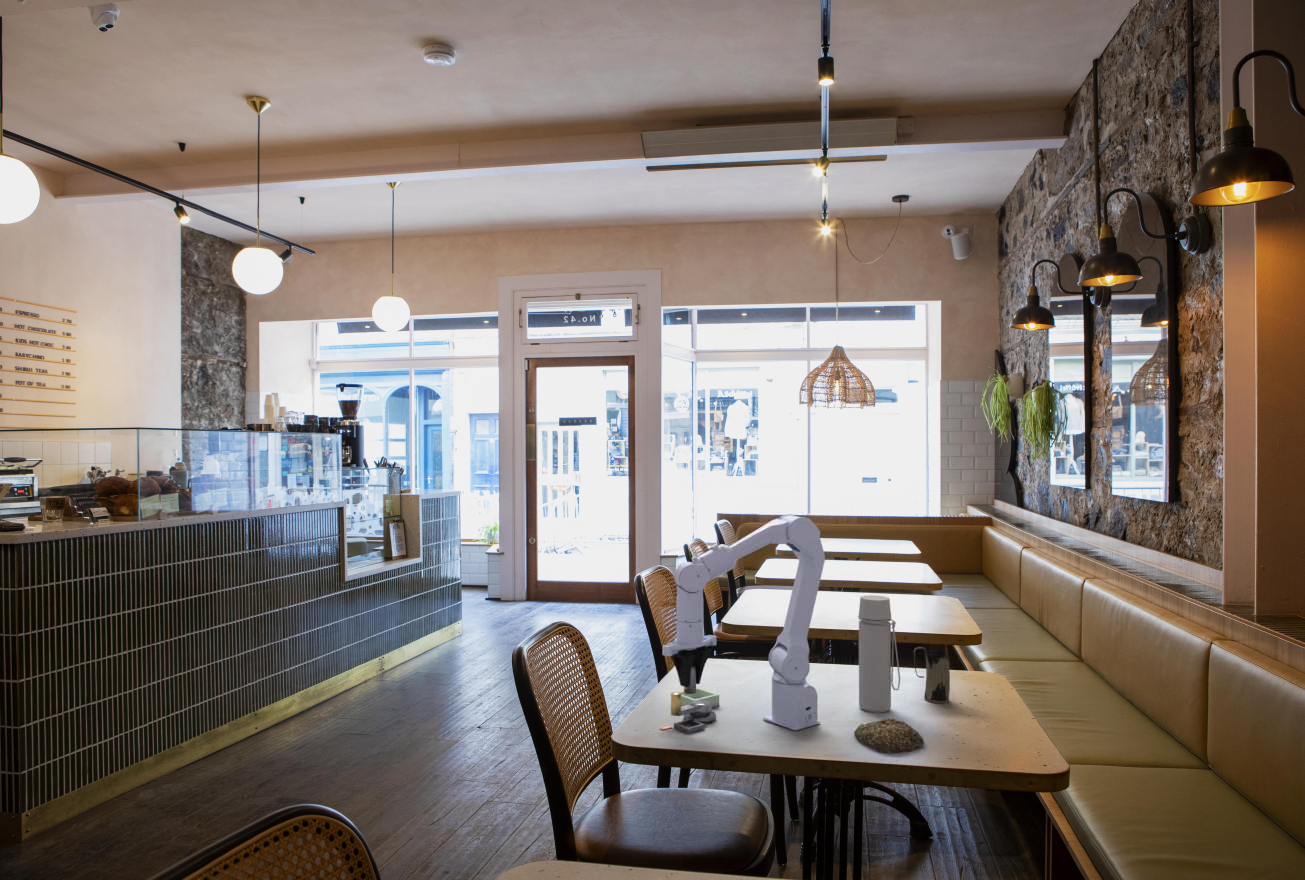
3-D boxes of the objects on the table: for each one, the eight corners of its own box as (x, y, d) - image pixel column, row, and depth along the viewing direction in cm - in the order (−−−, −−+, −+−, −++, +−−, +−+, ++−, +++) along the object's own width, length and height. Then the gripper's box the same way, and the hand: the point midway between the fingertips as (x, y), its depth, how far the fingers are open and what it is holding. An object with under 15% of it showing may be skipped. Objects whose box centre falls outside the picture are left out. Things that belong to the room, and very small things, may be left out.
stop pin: (698, 692, 178) (698, 666, 178) (689, 694, 176) (689, 668, 176) (690, 689, 180) (690, 663, 180) (681, 691, 178) (681, 665, 178)
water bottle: (854, 711, 188) (854, 599, 189) (862, 701, 195) (862, 593, 196) (896, 717, 184) (895, 602, 184) (903, 707, 191) (903, 596, 191)
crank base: (730, 722, 181) (730, 717, 181) (678, 736, 172) (678, 731, 172) (701, 711, 188) (701, 707, 188) (650, 724, 179) (650, 720, 179)
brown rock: (877, 757, 161) (877, 731, 161) (846, 735, 173) (846, 711, 173) (936, 751, 164) (936, 725, 165) (901, 730, 176) (901, 706, 176)
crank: (700, 707, 187) (700, 682, 187) (716, 712, 183) (716, 687, 183) (664, 717, 180) (664, 691, 180) (680, 723, 176) (680, 696, 176)
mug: (948, 697, 199) (948, 646, 199) (951, 704, 194) (951, 651, 194) (913, 695, 201) (913, 644, 201) (915, 701, 196) (914, 649, 196)
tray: (719, 705, 192) (719, 694, 193) (694, 711, 188) (694, 700, 188) (697, 698, 198) (697, 687, 198) (673, 703, 194) (673, 693, 194)
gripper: (699, 612, 186) (699, 674, 186) (652, 621, 176) (652, 687, 176) (723, 617, 181) (723, 680, 181) (676, 627, 171) (676, 694, 171)
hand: (690, 684), depth 178 cm, fingers closed on stop pin, 3 cm apart
